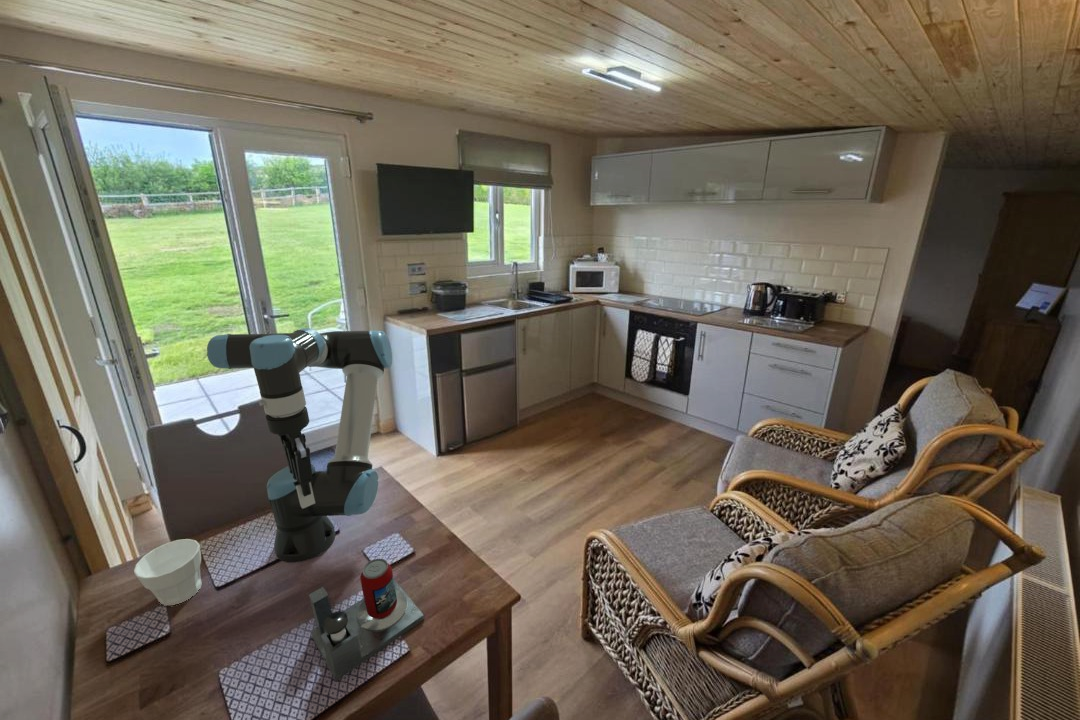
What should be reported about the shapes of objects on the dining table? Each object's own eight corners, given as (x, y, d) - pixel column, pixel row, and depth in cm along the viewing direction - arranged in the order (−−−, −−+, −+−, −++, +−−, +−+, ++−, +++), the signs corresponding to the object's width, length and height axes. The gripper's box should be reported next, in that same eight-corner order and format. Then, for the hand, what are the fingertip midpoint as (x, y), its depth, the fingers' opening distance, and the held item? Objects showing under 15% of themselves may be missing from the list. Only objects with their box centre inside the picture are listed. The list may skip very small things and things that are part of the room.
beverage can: (389, 622, 100) (381, 581, 96) (361, 618, 101) (352, 577, 97) (402, 597, 106) (396, 558, 102) (376, 593, 108) (368, 554, 103)
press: (310, 634, 100) (301, 598, 96) (394, 583, 113) (388, 550, 109) (335, 681, 90) (326, 644, 86) (424, 619, 103) (419, 584, 99)
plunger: (327, 652, 93) (320, 620, 90) (348, 638, 96) (342, 607, 93) (336, 667, 90) (328, 635, 87) (357, 652, 93) (350, 620, 90)
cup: (222, 582, 114) (210, 547, 110) (167, 622, 103) (152, 585, 99) (193, 566, 118) (181, 532, 115) (137, 603, 108) (122, 567, 104)
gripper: (257, 406, 95) (280, 498, 103) (275, 427, 86) (299, 526, 94) (295, 395, 99) (315, 484, 108) (316, 414, 91) (336, 510, 99)
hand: (307, 504), depth 101 cm, fingers closed
